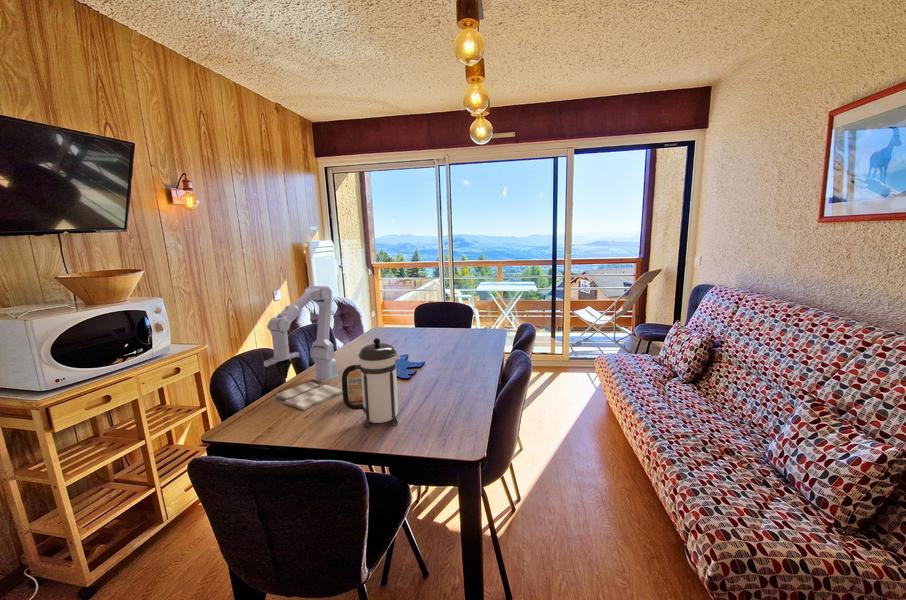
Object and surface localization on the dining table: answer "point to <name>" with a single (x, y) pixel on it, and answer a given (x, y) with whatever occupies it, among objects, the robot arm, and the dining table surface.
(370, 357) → the coffee press
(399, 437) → the dining table surface
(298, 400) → the floor panel
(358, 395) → the supplement box
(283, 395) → the loose plank
